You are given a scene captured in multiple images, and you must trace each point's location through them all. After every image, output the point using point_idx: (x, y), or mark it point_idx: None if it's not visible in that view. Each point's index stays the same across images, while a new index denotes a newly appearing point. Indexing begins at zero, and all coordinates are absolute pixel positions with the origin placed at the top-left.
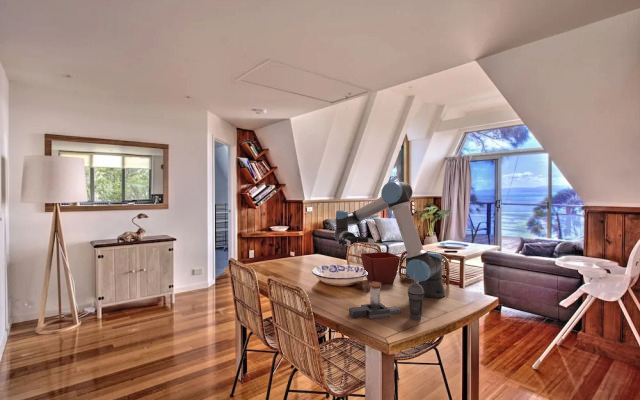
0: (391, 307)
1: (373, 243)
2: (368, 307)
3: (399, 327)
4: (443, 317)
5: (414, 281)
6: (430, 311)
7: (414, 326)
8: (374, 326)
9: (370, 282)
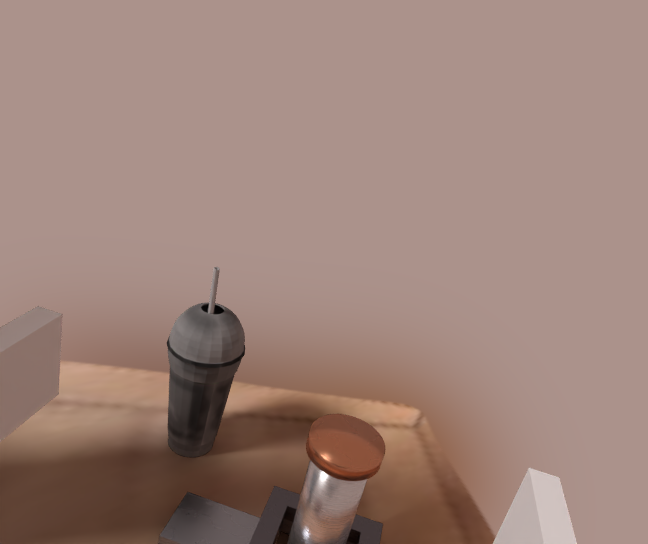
0: (198, 538)
1: (54, 368)
2: None
3: None
4: (97, 390)
5: (214, 303)
6: (56, 439)
7: (266, 414)
8: (399, 489)
9: (364, 462)
